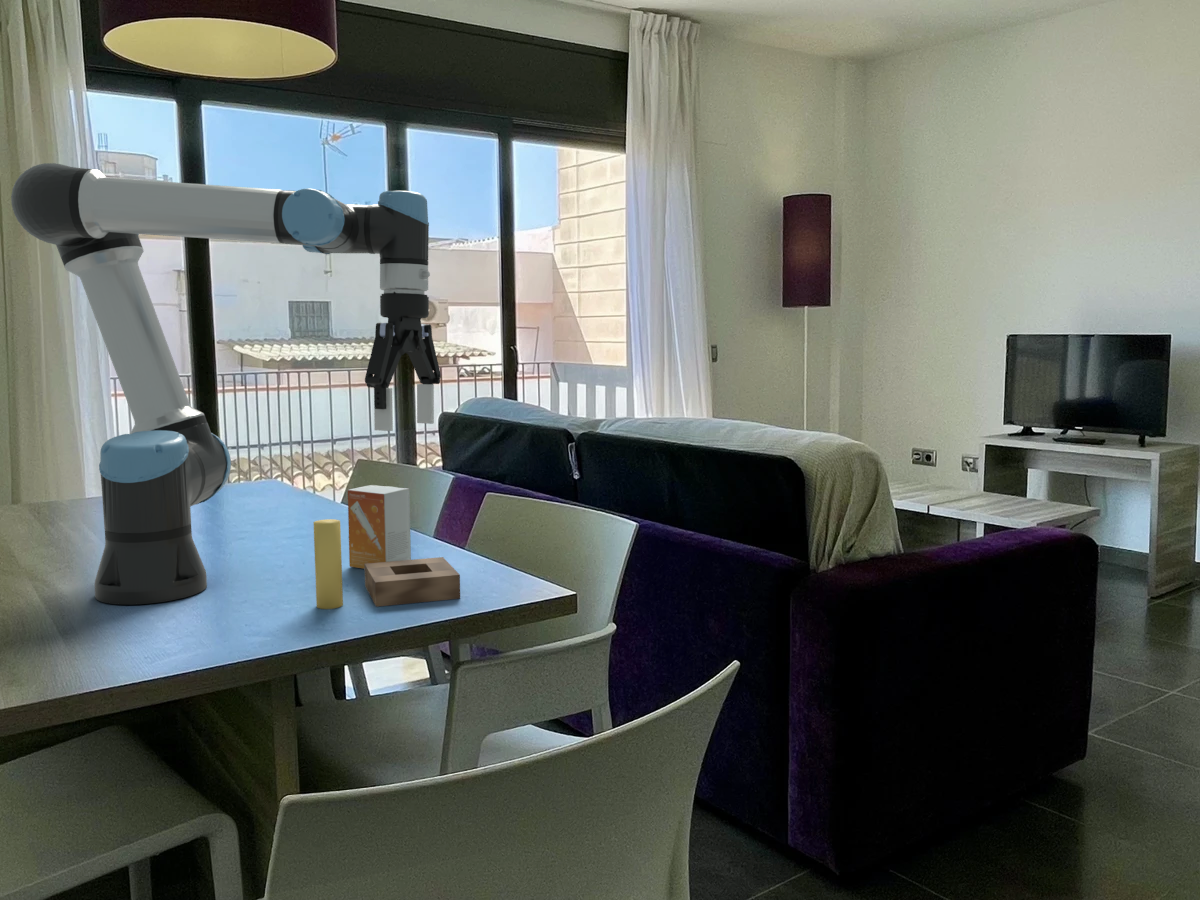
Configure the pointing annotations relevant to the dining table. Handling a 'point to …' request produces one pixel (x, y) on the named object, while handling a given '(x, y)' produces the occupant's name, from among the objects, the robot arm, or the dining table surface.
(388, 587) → the socket block
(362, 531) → the small box
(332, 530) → the peg
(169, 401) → the robot arm
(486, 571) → the dining table surface
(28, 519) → the dining table surface
